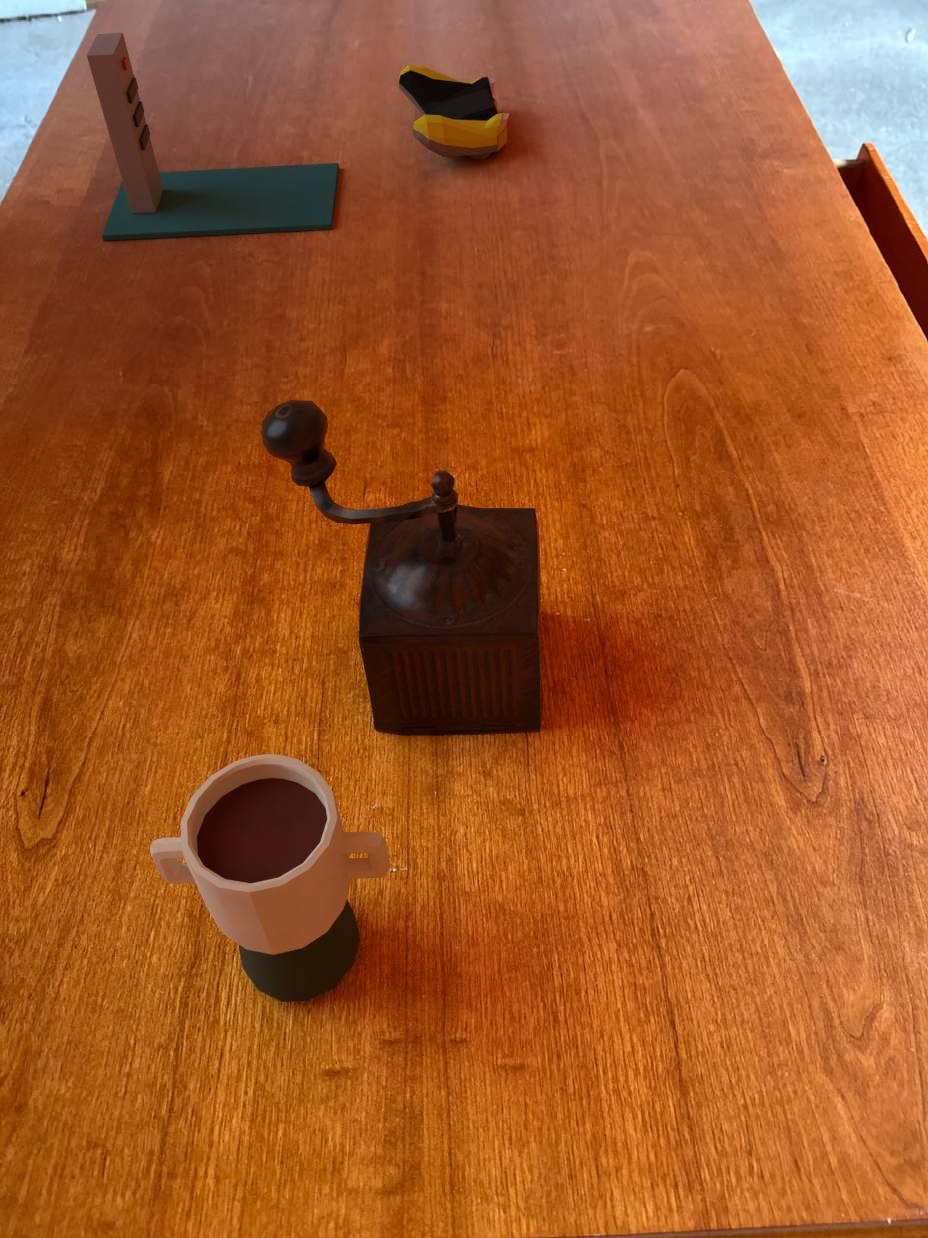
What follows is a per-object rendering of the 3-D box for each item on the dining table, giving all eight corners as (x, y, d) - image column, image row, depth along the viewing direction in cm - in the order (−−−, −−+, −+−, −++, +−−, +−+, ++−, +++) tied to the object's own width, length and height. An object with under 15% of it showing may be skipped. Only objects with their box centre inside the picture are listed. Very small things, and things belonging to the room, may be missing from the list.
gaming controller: (418, 179, 114) (516, 166, 115) (414, 125, 110) (515, 112, 111) (399, 112, 124) (490, 101, 125) (395, 60, 120) (488, 49, 121)
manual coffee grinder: (540, 599, 76) (541, 378, 62) (544, 735, 69) (546, 518, 55) (308, 603, 77) (260, 385, 63) (288, 737, 69) (228, 524, 56)
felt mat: (103, 240, 109) (101, 235, 109) (125, 179, 117) (124, 173, 117) (331, 229, 109) (331, 223, 108) (339, 168, 117) (338, 162, 116)
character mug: (407, 885, 62) (384, 748, 53) (403, 1013, 58) (377, 888, 48) (209, 891, 63) (150, 756, 53) (190, 1018, 58) (121, 896, 48)
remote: (131, 213, 111) (86, 55, 100) (139, 190, 114) (96, 33, 103) (159, 212, 111) (116, 53, 100) (166, 188, 114) (126, 32, 103)
